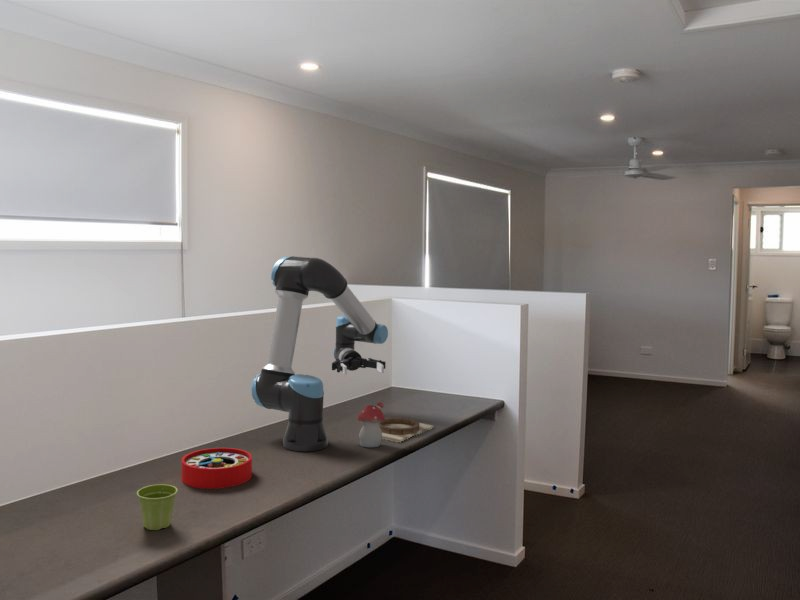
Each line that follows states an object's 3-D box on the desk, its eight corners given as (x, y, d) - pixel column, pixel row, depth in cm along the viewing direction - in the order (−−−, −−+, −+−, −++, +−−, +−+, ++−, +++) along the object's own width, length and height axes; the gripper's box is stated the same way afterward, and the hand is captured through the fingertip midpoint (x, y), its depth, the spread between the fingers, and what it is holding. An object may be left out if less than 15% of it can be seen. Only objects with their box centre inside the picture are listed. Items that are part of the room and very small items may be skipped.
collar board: (399, 442, 245) (399, 434, 244) (359, 434, 254) (360, 426, 253) (433, 428, 265) (433, 420, 265) (395, 420, 274) (395, 413, 274)
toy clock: (264, 460, 205) (199, 474, 192) (264, 479, 205) (199, 494, 192) (232, 443, 220) (170, 455, 207) (232, 462, 220) (170, 474, 207)
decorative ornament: (384, 443, 244) (385, 400, 242) (383, 448, 237) (384, 405, 236) (357, 442, 244) (358, 399, 243) (356, 447, 238) (357, 404, 236)
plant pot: (182, 518, 176) (182, 484, 175) (171, 534, 166) (171, 498, 166) (144, 517, 175) (144, 483, 175) (131, 533, 166) (131, 497, 165)
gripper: (381, 368, 274) (397, 379, 254) (318, 370, 267) (329, 381, 247) (381, 349, 274) (398, 358, 253) (318, 350, 266) (330, 360, 246)
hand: (364, 369), depth 250 cm, fingers open, 13 cm apart
